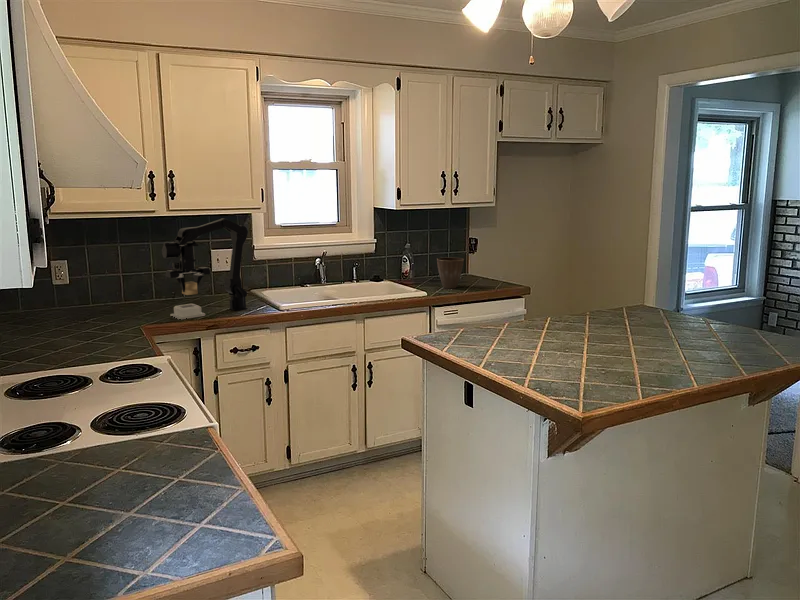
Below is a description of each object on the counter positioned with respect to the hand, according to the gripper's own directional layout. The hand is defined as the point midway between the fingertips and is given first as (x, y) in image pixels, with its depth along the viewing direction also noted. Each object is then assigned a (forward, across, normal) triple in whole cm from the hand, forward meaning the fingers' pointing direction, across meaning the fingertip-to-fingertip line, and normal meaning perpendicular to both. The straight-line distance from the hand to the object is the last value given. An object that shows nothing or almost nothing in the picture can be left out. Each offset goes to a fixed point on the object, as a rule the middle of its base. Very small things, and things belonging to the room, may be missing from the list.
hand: (189, 291), depth 287 cm
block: (+1, 0, 0) cm, 1 cm away
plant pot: (+10, -136, +31) cm, 140 cm away
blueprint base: (+11, +1, -2) cm, 11 cm away
